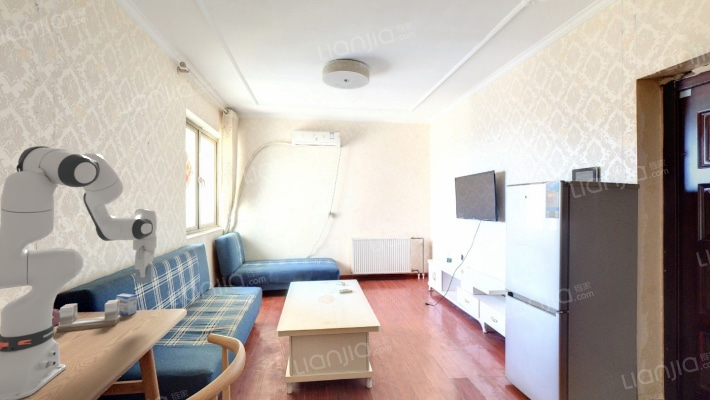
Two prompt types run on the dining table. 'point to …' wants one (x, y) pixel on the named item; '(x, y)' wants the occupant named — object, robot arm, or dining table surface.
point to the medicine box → (127, 303)
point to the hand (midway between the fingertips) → (144, 275)
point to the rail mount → (72, 323)
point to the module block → (147, 278)
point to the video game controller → (56, 316)
